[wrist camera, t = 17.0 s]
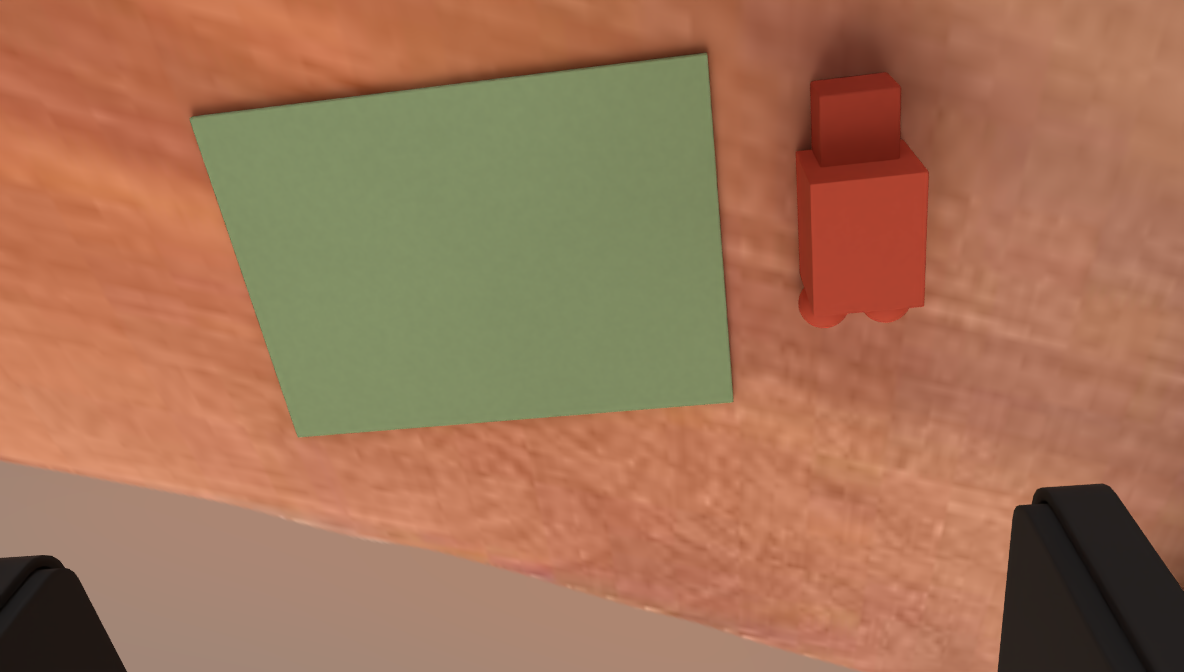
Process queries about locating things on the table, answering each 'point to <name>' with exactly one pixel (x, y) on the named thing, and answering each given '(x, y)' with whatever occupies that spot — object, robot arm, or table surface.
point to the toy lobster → (860, 205)
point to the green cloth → (483, 246)
